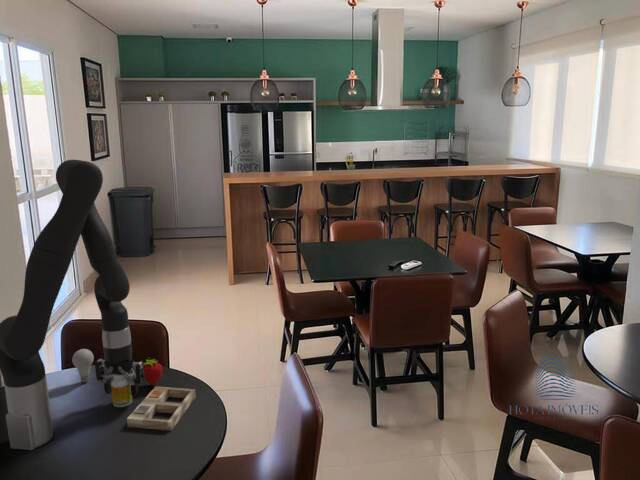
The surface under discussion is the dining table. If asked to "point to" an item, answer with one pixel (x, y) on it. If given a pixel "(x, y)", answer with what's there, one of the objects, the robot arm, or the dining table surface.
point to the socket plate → (161, 408)
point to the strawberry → (152, 371)
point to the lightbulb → (83, 363)
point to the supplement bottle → (121, 391)
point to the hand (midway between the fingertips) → (121, 393)
